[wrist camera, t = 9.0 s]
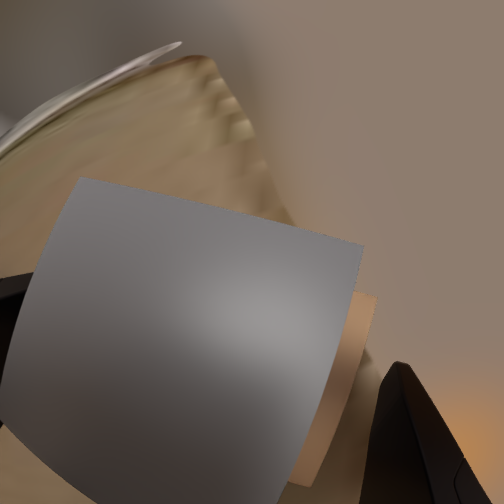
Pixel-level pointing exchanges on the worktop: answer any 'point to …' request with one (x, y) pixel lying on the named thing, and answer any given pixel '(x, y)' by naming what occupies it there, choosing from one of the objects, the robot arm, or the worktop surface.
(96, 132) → the worktop surface
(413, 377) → the robot arm
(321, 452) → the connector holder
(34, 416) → the plain gray rectangular block
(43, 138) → the worktop surface
